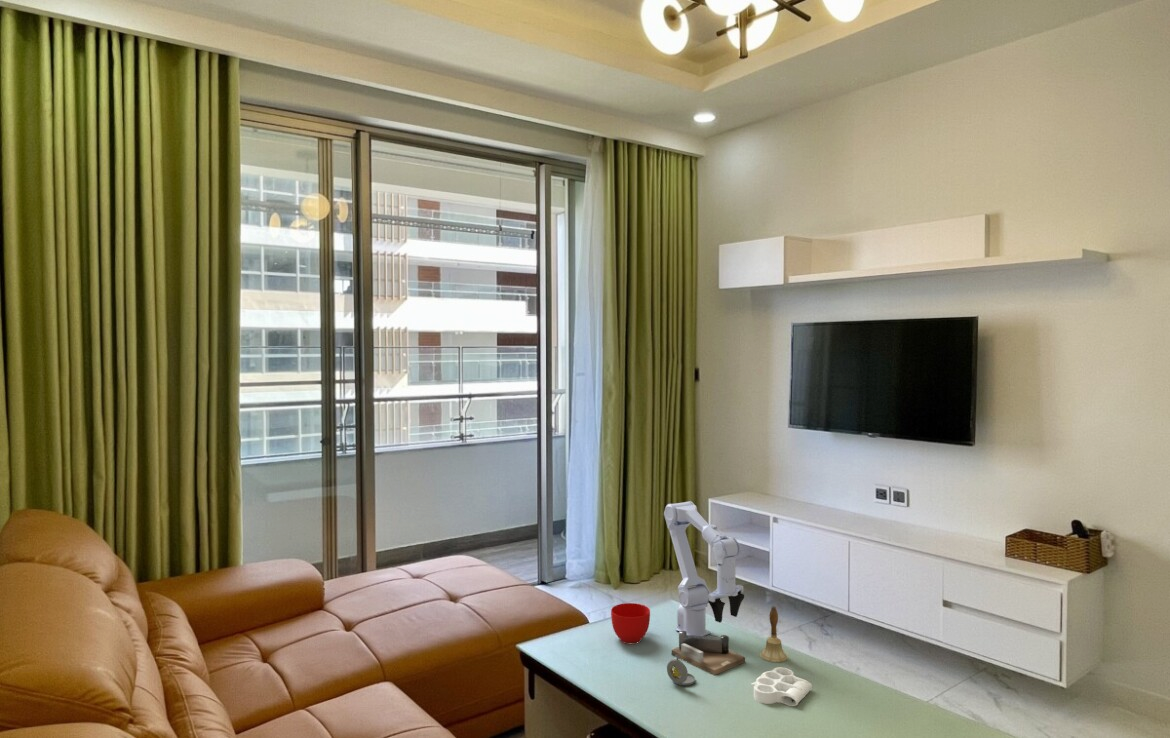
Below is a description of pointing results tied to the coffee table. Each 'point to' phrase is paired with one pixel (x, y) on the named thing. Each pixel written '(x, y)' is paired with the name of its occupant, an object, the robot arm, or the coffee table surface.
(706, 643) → the lever
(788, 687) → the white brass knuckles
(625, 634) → the ceramic cup
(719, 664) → the press base
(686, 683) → the pocket watch
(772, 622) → the hand bell
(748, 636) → the coffee table surface
